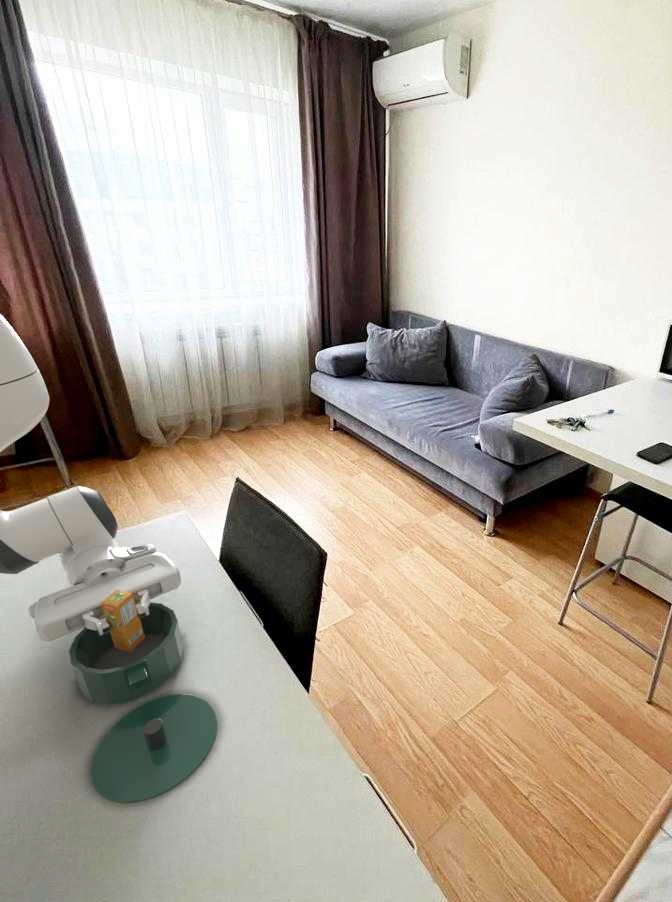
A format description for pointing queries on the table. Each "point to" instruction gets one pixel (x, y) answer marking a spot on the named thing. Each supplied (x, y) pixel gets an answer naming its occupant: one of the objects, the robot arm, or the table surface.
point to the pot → (133, 676)
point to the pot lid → (154, 748)
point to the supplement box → (123, 620)
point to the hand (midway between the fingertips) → (124, 621)
